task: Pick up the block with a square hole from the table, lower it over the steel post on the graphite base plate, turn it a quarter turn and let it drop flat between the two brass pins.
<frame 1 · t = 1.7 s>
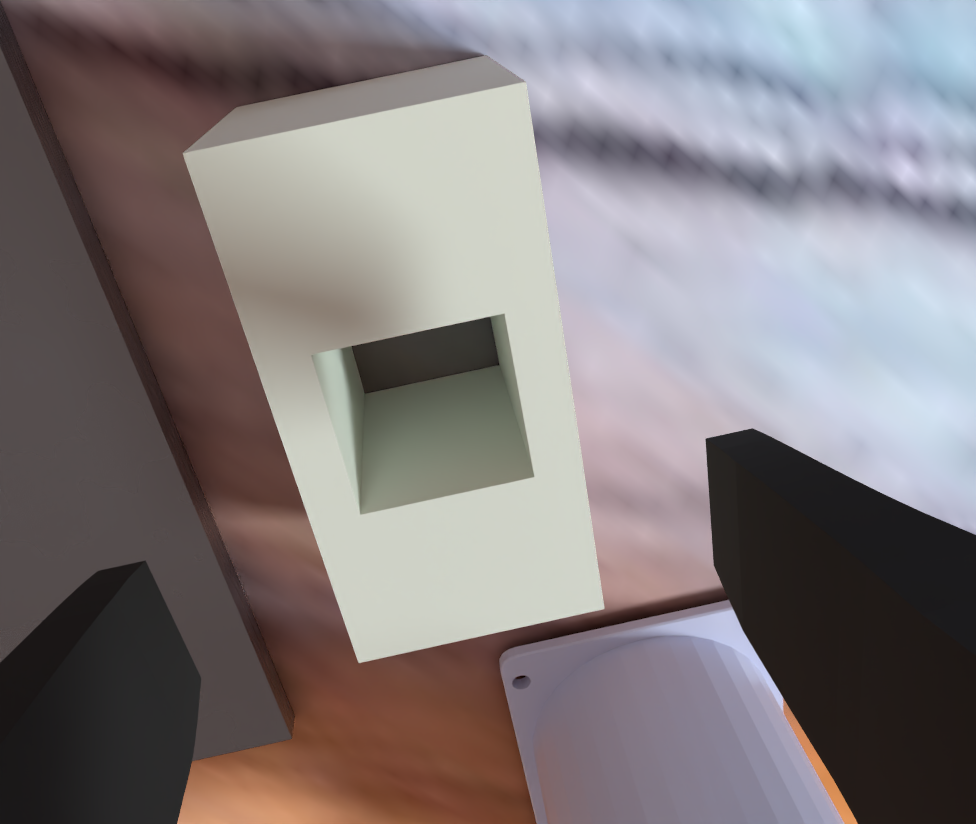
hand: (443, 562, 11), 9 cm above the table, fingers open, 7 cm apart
block with square hole: (417, 316, 19), on the table
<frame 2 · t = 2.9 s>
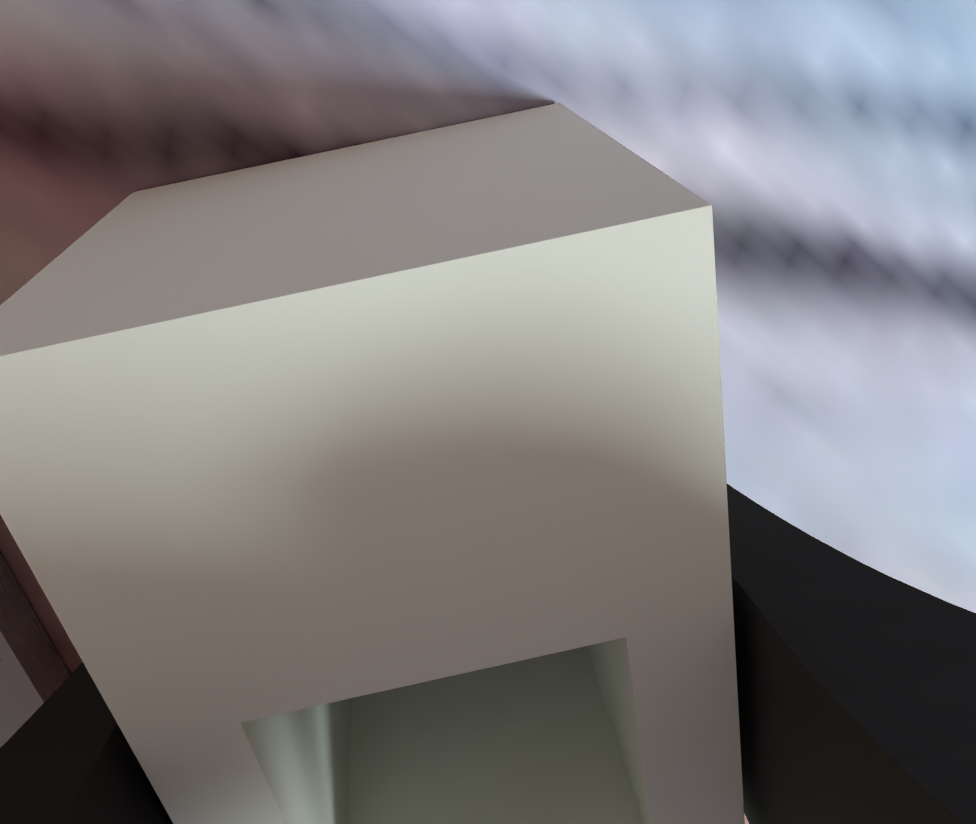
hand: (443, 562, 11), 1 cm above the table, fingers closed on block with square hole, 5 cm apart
block with square hole: (437, 501, 12), on the table, touching gripper
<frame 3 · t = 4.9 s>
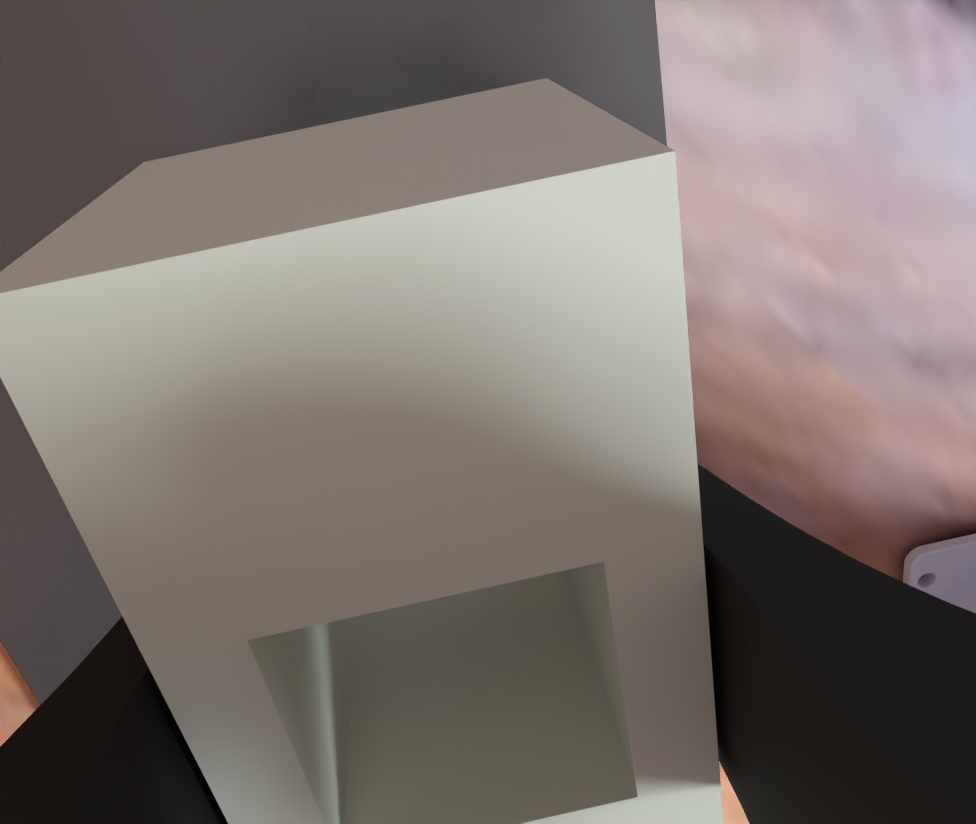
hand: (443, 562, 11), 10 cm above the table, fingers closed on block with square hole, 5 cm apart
stand: (283, 341, 19), on the table
block with square hole: (432, 463, 12), point 7 cm above the table, touching gripper
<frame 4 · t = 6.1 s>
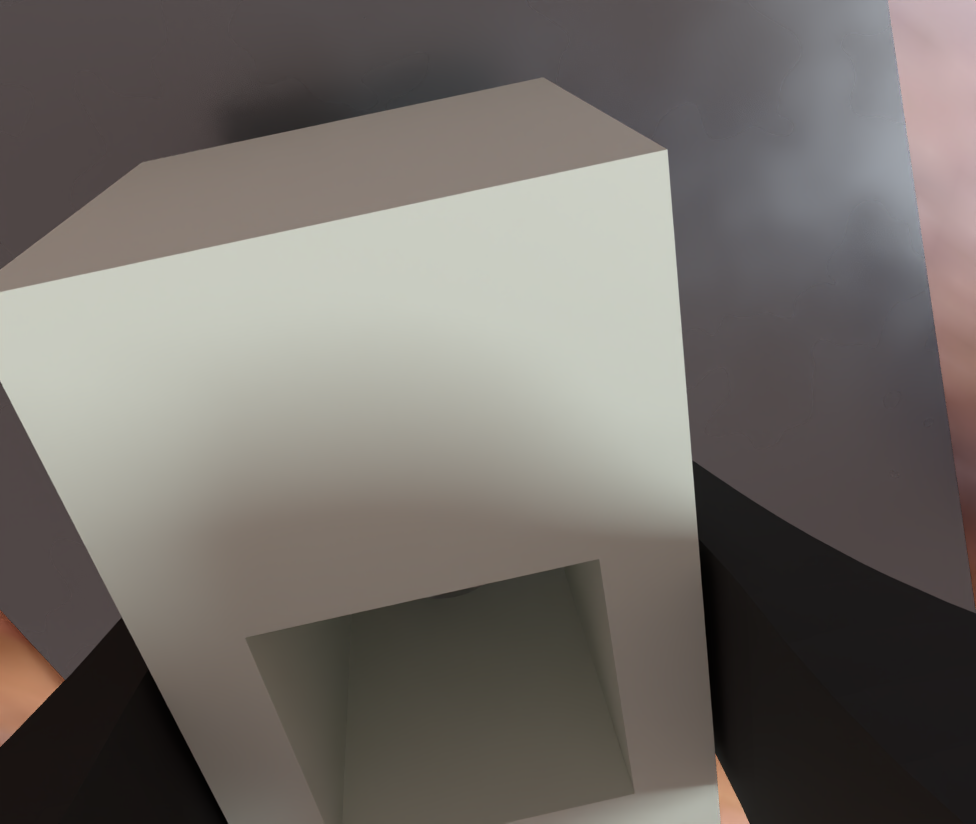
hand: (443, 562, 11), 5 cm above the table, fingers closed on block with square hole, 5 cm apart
stand: (424, 383, 15), on the table
block with square hole: (430, 462, 13), point 3 cm above the table, touching gripper
when the fingers open (4 cm above the table, at t = 7.0 s): block with square hole stays where it is, resting on stand.
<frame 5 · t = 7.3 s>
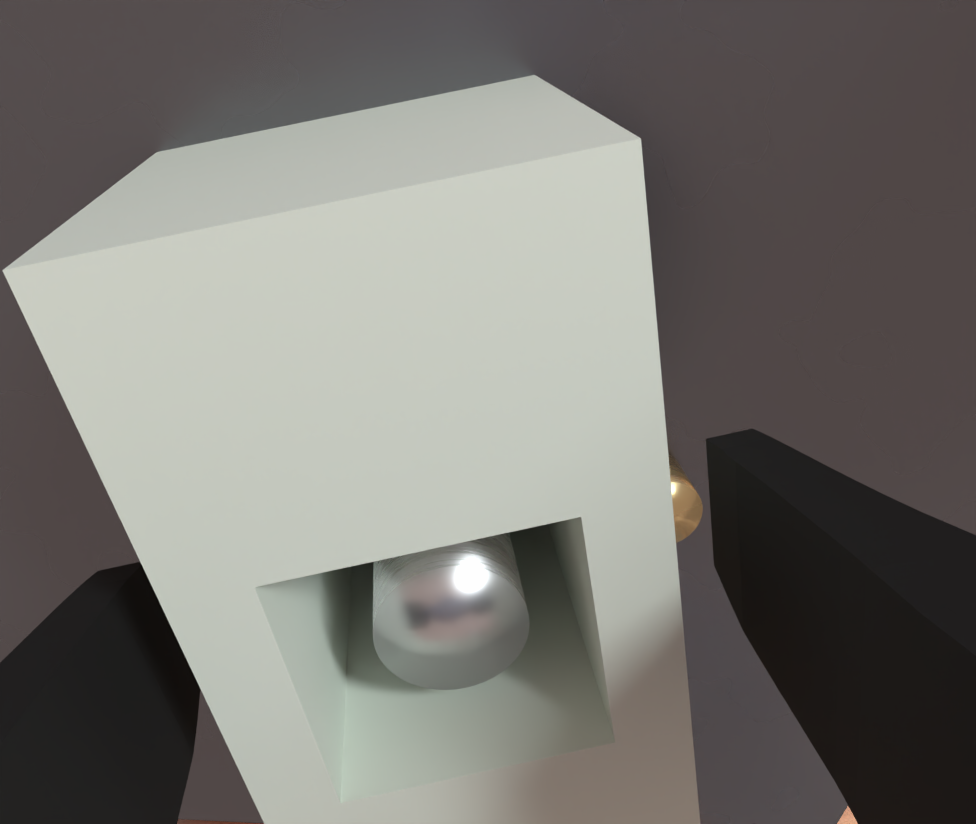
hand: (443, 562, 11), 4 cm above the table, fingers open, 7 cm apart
stand: (429, 426, 14), on the table
block with square hole: (426, 440, 13), point 1 cm above the table, touching stand
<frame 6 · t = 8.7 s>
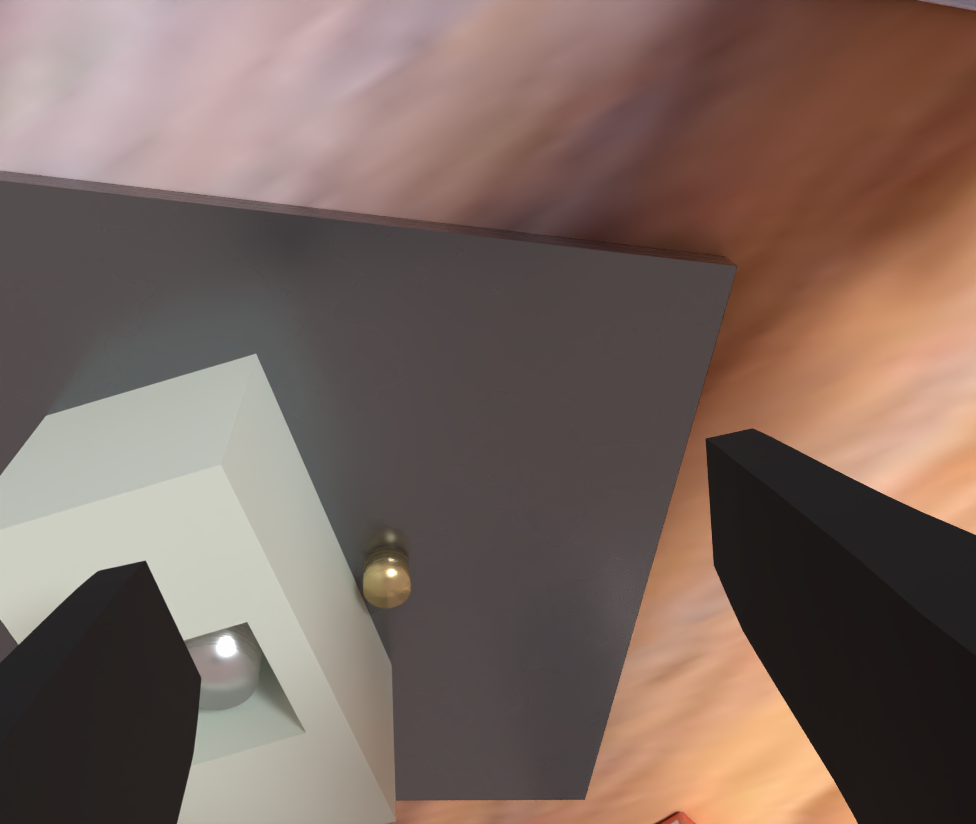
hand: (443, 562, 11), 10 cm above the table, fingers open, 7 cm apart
stand: (245, 540, 22), on the table
block with square hole: (237, 553, 21), point 1 cm above the table, touching stand
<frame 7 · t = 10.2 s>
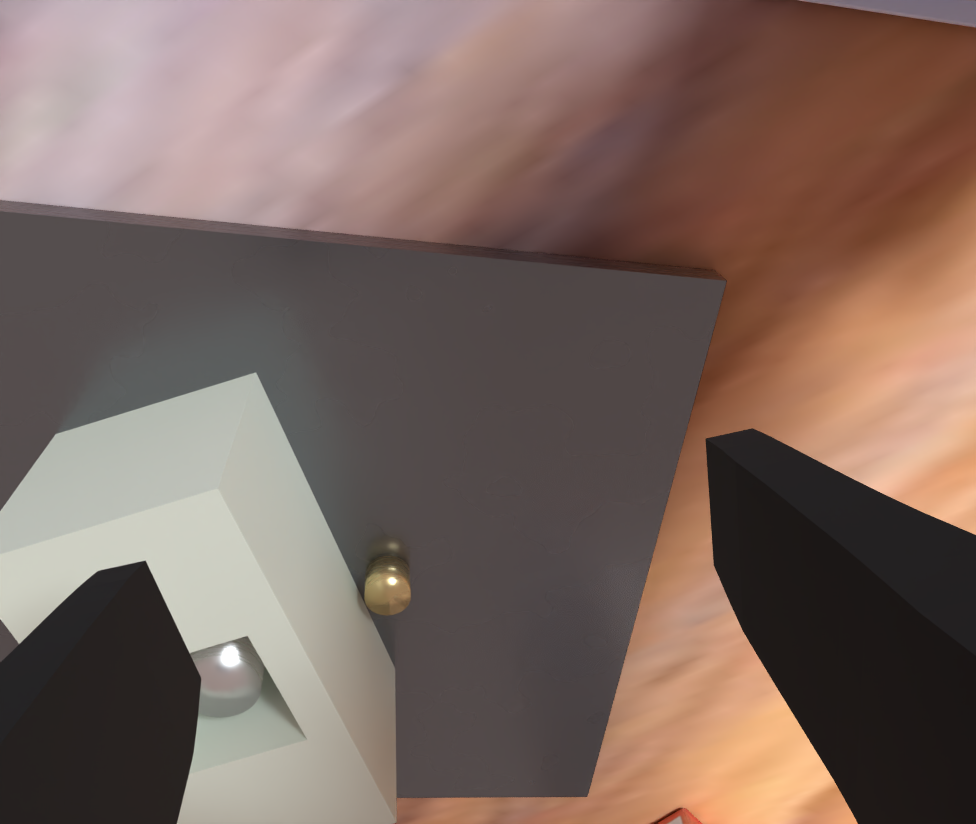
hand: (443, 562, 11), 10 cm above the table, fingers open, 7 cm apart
stand: (251, 549, 23), on the table
block with square hole: (242, 563, 22), point 1 cm above the table, touching stand
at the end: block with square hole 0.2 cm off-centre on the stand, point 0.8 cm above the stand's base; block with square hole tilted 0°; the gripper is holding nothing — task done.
